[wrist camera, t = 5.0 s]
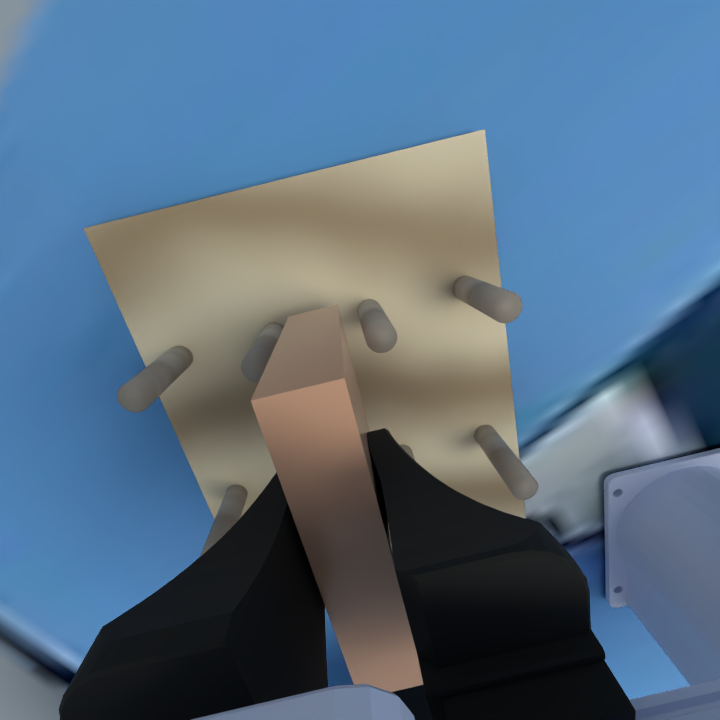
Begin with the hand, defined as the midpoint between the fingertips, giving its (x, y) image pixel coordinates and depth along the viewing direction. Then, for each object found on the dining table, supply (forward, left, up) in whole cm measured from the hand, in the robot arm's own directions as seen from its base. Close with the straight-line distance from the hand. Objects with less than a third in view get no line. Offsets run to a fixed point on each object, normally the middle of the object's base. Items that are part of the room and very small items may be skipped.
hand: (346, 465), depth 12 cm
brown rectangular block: (0, 0, -3) cm, 3 cm away
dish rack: (0, 0, -6) cm, 6 cm away
